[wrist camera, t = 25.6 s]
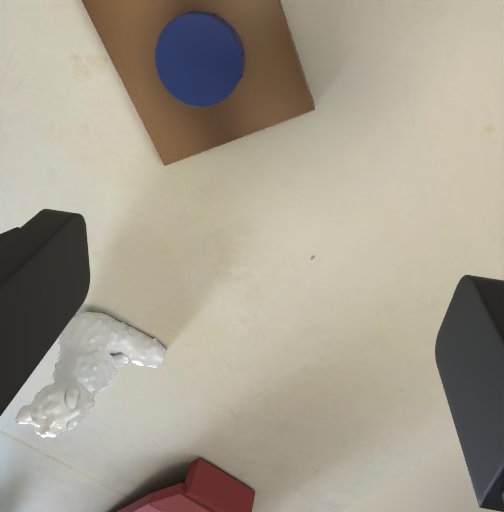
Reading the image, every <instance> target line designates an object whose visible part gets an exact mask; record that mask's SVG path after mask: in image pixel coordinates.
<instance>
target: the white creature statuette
mask: <svg viewBox="0 0 504 512" xmlns="http://www.w3.org/2000/svg"><path fill="white" fill-rule="evenodd" d="M58 338H59V342H58V343H59V347H60V349H59V352H58V355H59V357H58V362H57V363H56V364H55V371H54V373H53V381H54V383H53V384H51V385H48V386H45V387H44V388H43V389H42V390H41V391H40V392H39V393H37V394H36V396H35V398H34V400H33V402H32V403H31V405H26V406H23V407H22V408H21V409H20V410H19V412H18V414H17V416H16V418H15V419H16V422H17V423H21V424H33V427H34V429H35V432H36V433H37V434H40V435H41V437H46V436H50V437H55V436H58V435H60V434H61V433H62V431H65V430H66V429H67V428H68V429H71V430H74V429H75V428H76V427H77V423H79V422H80V421H81V420H82V419H83V417H85V416H86V415H87V414H88V409H89V408H90V407H93V406H94V403H95V401H94V394H95V393H98V391H100V390H104V389H107V388H108V387H109V386H110V385H111V384H112V379H111V378H112V377H113V376H114V375H115V374H117V372H118V369H121V368H123V367H124V365H126V364H128V362H129V360H130V361H131V362H133V363H136V365H144V366H150V367H158V366H159V364H160V363H161V362H162V360H163V358H164V356H165V354H166V350H165V348H164V347H163V346H162V345H161V344H160V343H159V342H157V340H156V338H153V339H152V338H150V337H149V336H147V335H146V334H144V333H142V332H140V331H138V330H136V329H135V328H134V327H130V326H128V325H126V324H124V323H123V322H119V321H117V320H115V319H113V318H112V317H110V316H108V315H107V314H104V313H93V312H85V313H83V314H80V315H77V316H73V318H72V319H71V320H70V322H69V323H68V324H67V326H66V327H65V329H64V330H63V331H62V333H61V334H60V335H59V337H58Z"/></svg>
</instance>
